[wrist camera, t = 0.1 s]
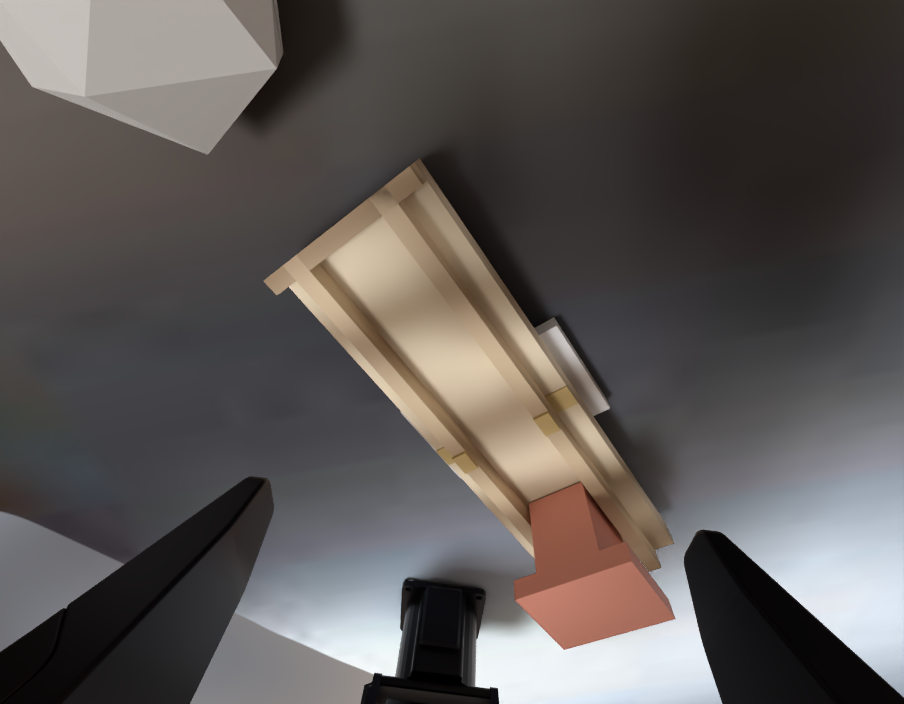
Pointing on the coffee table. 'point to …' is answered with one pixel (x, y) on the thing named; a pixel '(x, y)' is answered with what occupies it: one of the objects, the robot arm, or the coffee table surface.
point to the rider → (585, 574)
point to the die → (149, 59)
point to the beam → (467, 359)
